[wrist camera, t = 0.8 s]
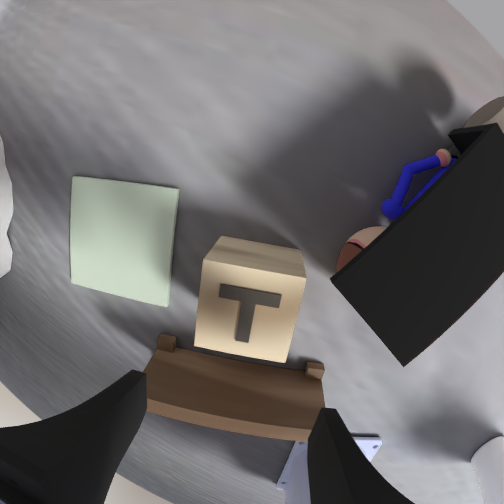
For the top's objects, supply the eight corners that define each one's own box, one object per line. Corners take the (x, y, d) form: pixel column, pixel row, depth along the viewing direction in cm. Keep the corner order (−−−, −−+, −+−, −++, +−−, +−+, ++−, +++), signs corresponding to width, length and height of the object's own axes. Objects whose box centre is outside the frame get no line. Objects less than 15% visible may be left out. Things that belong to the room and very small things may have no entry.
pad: (168, 304, 22) (167, 307, 22) (74, 281, 22) (71, 283, 22) (179, 188, 20) (177, 189, 19) (75, 175, 20) (72, 176, 19)
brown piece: (313, 393, 23) (318, 451, 17) (160, 365, 24) (132, 415, 18) (323, 363, 22) (333, 421, 16) (160, 333, 23) (129, 382, 17)
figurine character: (451, 101, 18) (302, 249, 20) (522, 77, 10) (330, 288, 12) (499, 175, 19) (367, 320, 21) (571, 179, 11) (414, 380, 13)
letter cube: (284, 320, 22) (285, 364, 17) (211, 306, 22) (193, 346, 17) (300, 249, 20) (306, 279, 15) (221, 235, 20) (202, 260, 15)
